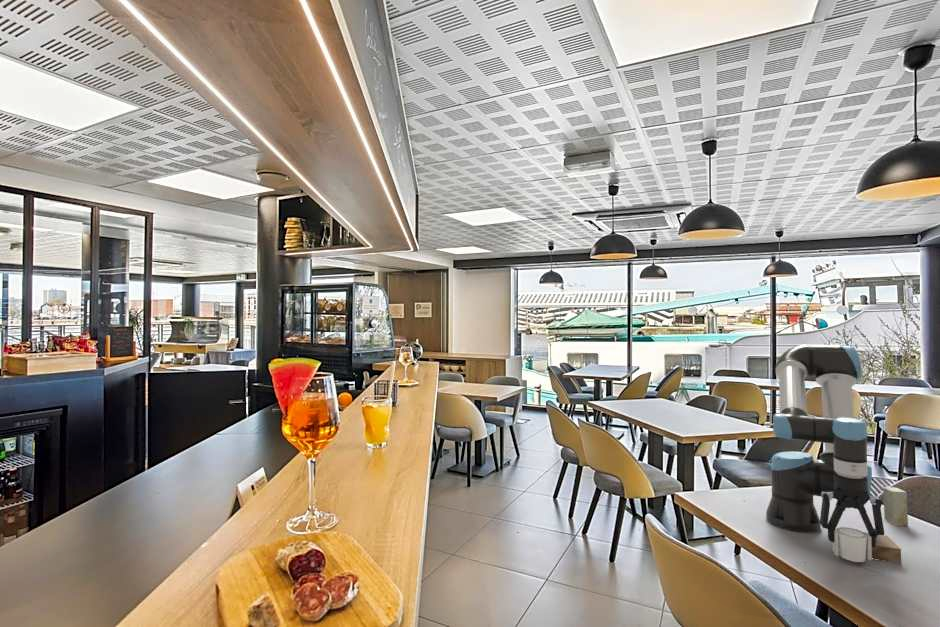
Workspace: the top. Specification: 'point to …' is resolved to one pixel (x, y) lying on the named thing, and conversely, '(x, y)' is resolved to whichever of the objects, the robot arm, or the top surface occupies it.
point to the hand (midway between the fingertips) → (851, 555)
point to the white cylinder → (852, 544)
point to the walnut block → (886, 550)
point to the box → (895, 506)
